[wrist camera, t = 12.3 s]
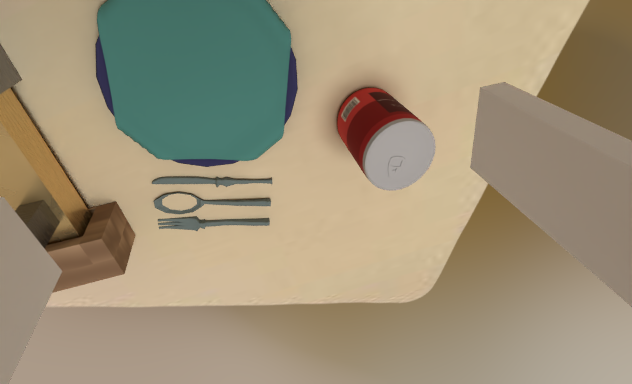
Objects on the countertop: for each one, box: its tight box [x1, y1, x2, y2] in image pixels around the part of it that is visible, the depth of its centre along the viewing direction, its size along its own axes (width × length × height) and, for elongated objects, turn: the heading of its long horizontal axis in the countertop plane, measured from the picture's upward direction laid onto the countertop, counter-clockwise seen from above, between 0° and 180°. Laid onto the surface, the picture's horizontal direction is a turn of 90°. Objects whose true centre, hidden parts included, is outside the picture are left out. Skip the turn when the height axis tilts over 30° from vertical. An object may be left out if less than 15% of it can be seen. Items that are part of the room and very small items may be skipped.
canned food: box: [337, 88, 435, 190], centre depth 41 cm, size 8×8×11 cm
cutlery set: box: [96, 0, 298, 231], centre depth 41 cm, size 20×30×2 cm, turn 173°
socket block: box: [45, 202, 135, 293], centre depth 43 cm, size 6×10×7 cm, turn 98°
